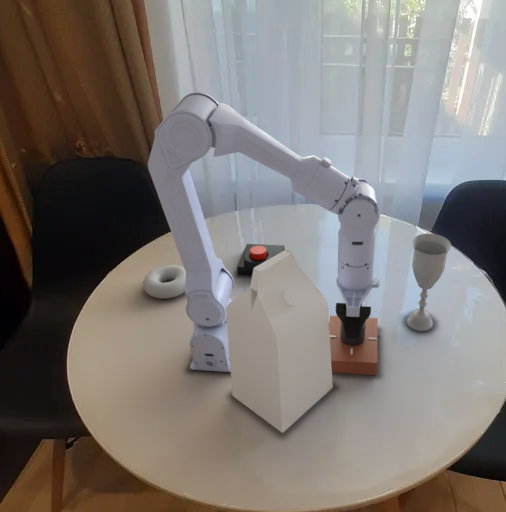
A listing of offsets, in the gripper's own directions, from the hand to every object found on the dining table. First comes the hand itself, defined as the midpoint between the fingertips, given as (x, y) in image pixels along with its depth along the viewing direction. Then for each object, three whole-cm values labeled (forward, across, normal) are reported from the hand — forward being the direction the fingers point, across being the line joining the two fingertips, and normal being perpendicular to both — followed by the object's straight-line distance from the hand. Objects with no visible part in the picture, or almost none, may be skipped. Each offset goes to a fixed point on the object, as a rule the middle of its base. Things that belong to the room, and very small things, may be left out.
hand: (353, 322), depth 85 cm
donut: (+7, +16, +40) cm, 44 cm away
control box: (+6, +27, +22) cm, 35 cm away
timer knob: (+4, 0, 0) cm, 4 cm away
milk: (+7, -11, +11) cm, 17 cm away
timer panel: (+7, 0, 0) cm, 7 cm away
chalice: (+7, +9, -13) cm, 17 cm away
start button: (+3, +24, +22) cm, 33 cm away
